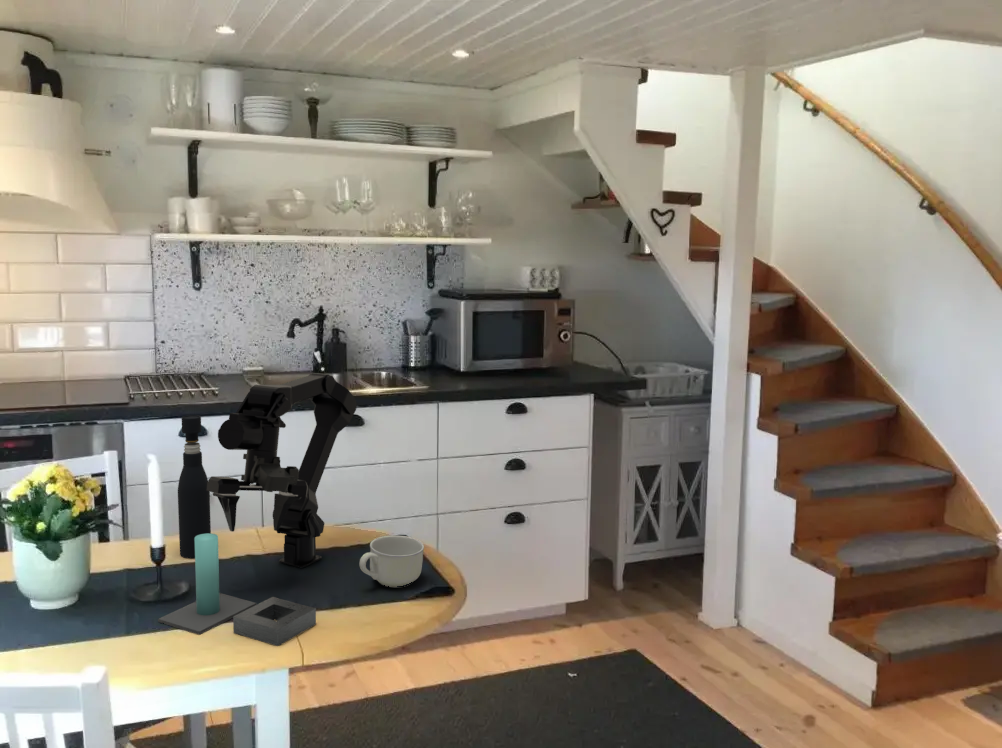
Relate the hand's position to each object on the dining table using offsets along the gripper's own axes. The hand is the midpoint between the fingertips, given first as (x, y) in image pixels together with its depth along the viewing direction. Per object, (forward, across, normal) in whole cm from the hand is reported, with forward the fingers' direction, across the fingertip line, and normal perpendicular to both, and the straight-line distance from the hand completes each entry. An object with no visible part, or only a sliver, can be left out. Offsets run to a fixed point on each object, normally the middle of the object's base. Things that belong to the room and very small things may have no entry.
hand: (254, 530), depth 177 cm
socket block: (+15, -3, -17) cm, 23 cm away
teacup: (+9, +24, -12) cm, 29 cm away
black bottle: (+9, 0, +27) cm, 28 cm away
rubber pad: (+14, -10, -4) cm, 18 cm away
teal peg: (+14, -10, -4) cm, 17 cm away
